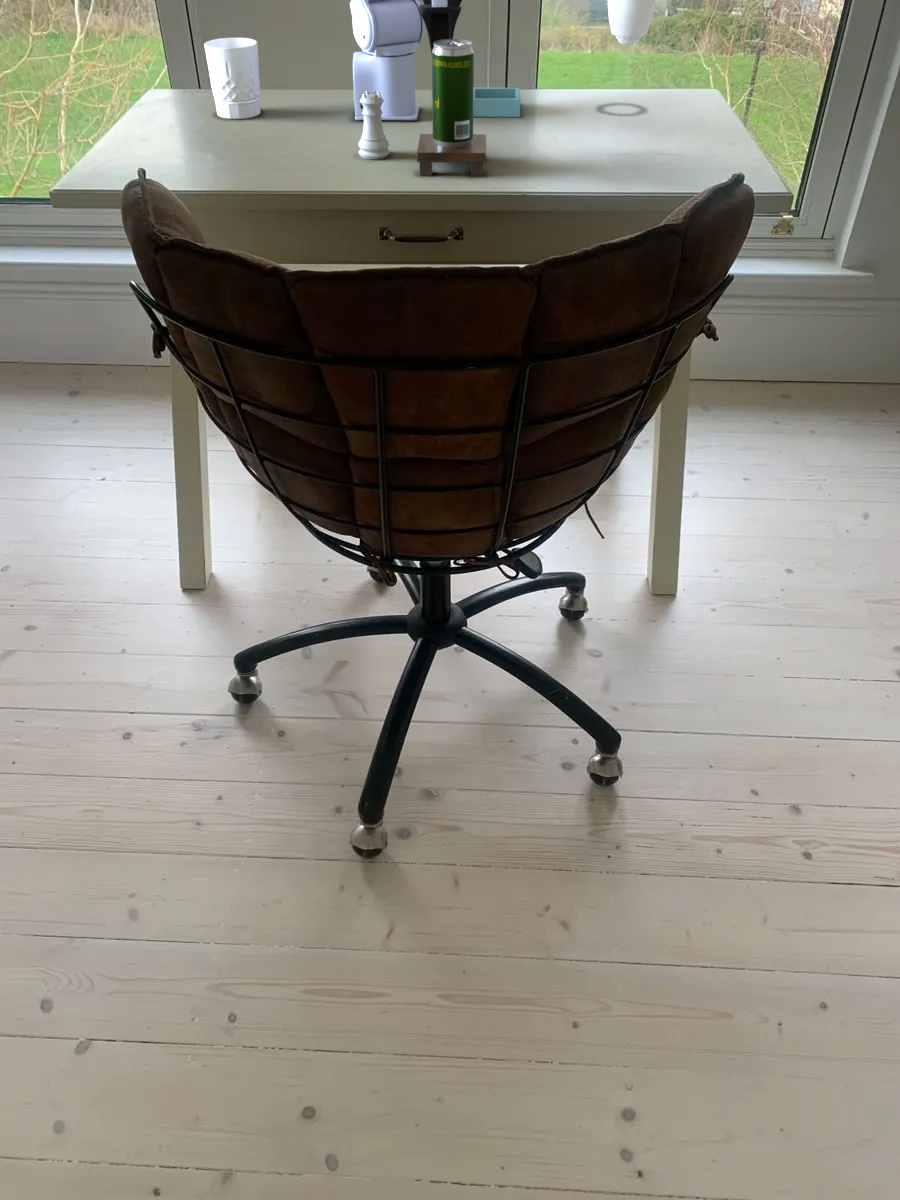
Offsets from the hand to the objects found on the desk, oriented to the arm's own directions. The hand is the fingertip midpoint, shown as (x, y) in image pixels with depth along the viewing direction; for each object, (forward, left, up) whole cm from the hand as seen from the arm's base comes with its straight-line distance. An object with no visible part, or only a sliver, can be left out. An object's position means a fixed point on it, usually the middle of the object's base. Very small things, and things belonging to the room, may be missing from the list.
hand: (442, 58), depth 147 cm
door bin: (+8, +15, -10) cm, 20 cm away
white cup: (-32, +12, -11) cm, 36 cm away
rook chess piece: (-9, -10, -11) cm, 17 cm away
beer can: (+2, -15, -8) cm, 17 cm away
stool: (+2, -15, -10) cm, 18 cm away
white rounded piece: (+28, +16, -11) cm, 34 cm away
